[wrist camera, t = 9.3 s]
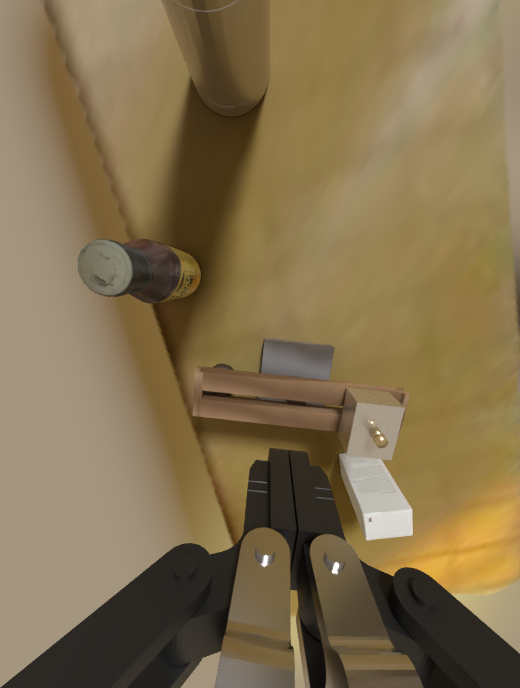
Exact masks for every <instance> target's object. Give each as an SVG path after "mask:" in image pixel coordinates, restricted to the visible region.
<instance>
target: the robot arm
mask: <svg viewBox="0 0 520 688" xmlns="http://www.w3.org/2000/svg"><path fill="white" fill-rule="evenodd" d="M161 1H162V3H163V6H164V8H165V11H166V13H167V16H168V19H169V21H170V24H171V26H172V29H173V31H174V34H175V36H176V39H177V42H178V44H179V47H180V49H181V52H182V54H183V57H184V59H185V62H186V65H187V67H188V70H189V72H190V75H191V77H192V80H193V83H194V85H195V88H196V90H197V92H198V94H199V96H200V98H201V100H202V101H203V102H204V103H205V104H206V106H207V107H209V108H210V109H211V110H212V111H214V112H216V113H218V114H220V115H223V116H228V117H233V116H239V115H243V114H245V113H247V112H249V111H251V110H252V109H253V108H254V107H255V106H256V105H257V104H258V103H259V101H260V100H261V99H262V97H263V95H264V93H265V91H266V89H267V85H268V81H269V72H270V0H161ZM290 590H297V593H298V610H297V616H296V624H297V632H298V639H299V646H300V653H301V661H302V668H303V675H304V682H305V688H520V654H519V653H518V652H517V651H516V650H515V649H514V648H512V647H511V646H510V645H509V644H508V643H507V642H506V641H504V640H503V639H502V638H501V637H500V636H499V635H497V634H496V633H495V632H494V631H493V630H492V629H490V628H489V627H488V626H487V625H486V624H485V623H484V622H482V621H481V620H480V619H479V618H478V617H477V616H476V615H474V614H473V613H472V612H471V611H470V610H469V609H467V608H466V607H465V606H464V605H463V604H462V603H461V602H459V601H458V600H457V599H456V598H454V596H452V595H451V594H450V593H449V592H448V591H447V590H445V589H444V588H443V587H442V586H441V585H440V584H439V583H437V582H436V581H435V580H434V579H433V578H431V577H430V576H429V575H427V574H426V573H424V572H422V571H420V570H417V569H414V568H408V567H405V568H401V569H399V570H398V571H396V573H395V575H394V576H391V575H389V574H387V573H384V572H382V571H380V570H377V569H375V568H373V567H371V566H369V565H367V564H366V563H364V562H363V561H361V560H360V559H359V558H358V555H357V553H356V552H355V550H354V549H353V548H352V546H351V545H350V544H348V543H347V542H346V540H345V537H344V533H343V530H342V526H341V522H340V519H339V515H338V512H337V508H336V505H335V501H334V499H333V494H332V491H331V487H330V483H329V480H328V477H327V475H326V474H325V473H324V472H323V470H322V469H321V468H320V467H318V466H310V463H309V458H308V454H307V452H304V451H294V450H284V449H275V448H270V449H269V455H268V461H260V460H256V461H255V462H254V464H253V465H252V466H251V468H250V472H249V481H248V490H247V499H246V510H245V521H244V531H243V535H242V537H241V539H240V540H239V541H238V543H237V544H236V545H234V546H233V547H232V548H230V549H228V550H226V551H223V552H219V553H215V554H211V555H209V553H208V552H207V551H206V550H205V549H204V548H203V547H201V546H200V545H197V544H192V543H188V544H187V543H186V544H182V545H179V546H176V547H174V548H173V549H171V550H170V551H169V552H167V553H166V554H165V555H164V556H162V557H161V558H160V559H159V560H158V561H156V562H155V563H154V564H153V565H151V566H150V567H149V568H148V569H146V570H145V571H144V572H143V573H142V574H140V575H139V576H138V577H137V578H135V579H134V580H133V581H132V582H130V583H129V584H128V585H127V586H125V587H124V588H123V589H122V590H120V591H119V592H118V593H117V594H116V595H114V596H113V597H112V598H111V599H109V600H108V601H107V602H106V603H104V604H103V605H102V606H101V607H99V608H98V609H97V610H96V611H95V612H93V613H92V614H91V615H90V616H88V617H87V618H86V619H85V620H83V621H82V622H81V623H80V624H78V625H77V626H76V627H75V628H74V629H72V630H71V631H70V632H69V633H67V634H66V635H65V636H64V637H63V638H61V639H60V640H59V641H57V642H56V643H55V644H54V645H53V646H51V647H50V648H49V649H48V650H46V651H45V652H44V653H43V654H41V655H40V656H39V657H38V658H37V659H35V660H34V661H33V662H32V663H30V664H29V665H28V666H27V667H25V668H24V669H23V670H22V671H20V672H19V673H18V674H17V675H16V676H14V677H13V678H12V679H11V680H9V681H8V682H7V683H6V684H4V685H3V686H2V687H1V688H180V687H181V686H182V685H183V684H184V682H185V681H186V679H187V678H188V677H189V676H190V674H191V673H192V672H193V670H194V669H195V668H196V667H197V666H198V664H199V663H200V661H201V660H202V658H203V657H206V656H209V655H211V654H214V653H217V652H219V651H221V655H220V660H219V665H218V672H217V677H216V683H215V688H295V664H294V650H293V647H292V646H291V638H290Z"/></svg>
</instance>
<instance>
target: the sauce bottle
mask: <svg viewBox="0 0 520 688" xmlns="http://www.w3.org/2000/svg"><path fill="white" fill-rule="evenodd" d="M78 271H79V274H80V277H81V279H82V280H83V282H84V284H85V285H86V286H87V287H88V288H89V289H90V290H92V291H93V292H95V293H97V294H100V295H104V296H108V297H109V296H113V297H114V296H115V297H117V296H122V295H125V294H127V293H128V294H130V295H132V296H134V297H136V298H137V299H139V300H141V301H143V302H146V303H159V302H163V301H169V300H173V299H178V298H183V297H186V296H189V295H190V294H192V293H193V292H194V291H195V290H196V289H197V287H198V286H199V284H200V282H201V271H200V267H199V264H198V263H197V262H196V260H195V259H194V258H193V257H192V256H191V255H189V254H188V253H185V252H183V251H181V250H178V249H175V248H173V247H170V246H168V245H165V244H162V243H159V242H155V241H151V240H147V239H136V240H132V241H129V242H127V243H125V244H121V243H119V242H116V241H112V240H105V239H99V240H95V241H92V242H90V243H89V244H87V245H86V246H85V247H84V248H83V249H82V250H81V252H80V254H79V258H78Z"/></svg>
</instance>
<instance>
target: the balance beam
mask: <svg viewBox="0 0 520 688" xmlns="http://www.w3.org/2000/svg"><path fill="white" fill-rule="evenodd" d="M333 353H334V347H333V346H331V345H321V344H312V343H303V342H294V341H285V340H276V339H266V338H265V339H264V348H263V357H262V366H261V373H255V372H246V371H237V370H233V368H231V367H230V366H228V365H226V364H218V365H216V366H214V367H213V368H210V367H201V366H198V368H197V369H196V370H195V378H194V399H193V416H199V417H208V418H217V419H226V420H235V421H244V422H253V423H262V424H271V425H280V426H289V427H298V428H307V429H316V430H325V431H334V432H338V431H339V426H340V421H341V415H342V410H343V408H334V407H325V406H324V404H330V405H340V406H343V405H344V400H345V395H346V390H347V387H348V388H357V389H366V390H375V391H384V392H389V393H390V394H391V395H392V396H393V397H394V398H396V399H397V400H398V401H399V402H400V403H401V404H402V405H403V406H404V407H405V409H404V413H403V417H402V421H401V425H400V429H399V433H398V437H397V439H398V438H399V434H400V431H401V427H402V423H403V419H404V415H405V411H406V407H407V403H408V399H409V394H408V393H407V392H406V391H405V390H404V389H401V388H392V387H383V386H373V385H364V384H355V383H346V382H337V381H329V376H330V370H331V365H332V359H333ZM231 394H240V395H249V396H258V399H252V398H243V397H234V396H231Z"/></svg>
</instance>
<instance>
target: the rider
mask: <svg viewBox="0 0 520 688" xmlns="http://www.w3.org/2000/svg"><path fill="white" fill-rule="evenodd" d="M404 409H405V407H404V406H403V405H402V404H401V403H400V402H399V401H398V400H397V399H396V398H394V397H393V396H392V395H391V394H390V393H389V392H384V391H375V390H366V389H357V388H348V387H347V390H346V395H345V400H344V405H343V410H342V415H341V421H340V426H339V431H338V437H339V439H340V442H341V444H342V446H343V449H344V451H345V453H346V455H347V456H356V457H365V458H374V459H383V460H392V456H393V452H394V449H395V445H396V441H397V437H398V433H399V429H400V425H401V421H402V417H403V413H404Z"/></svg>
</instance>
